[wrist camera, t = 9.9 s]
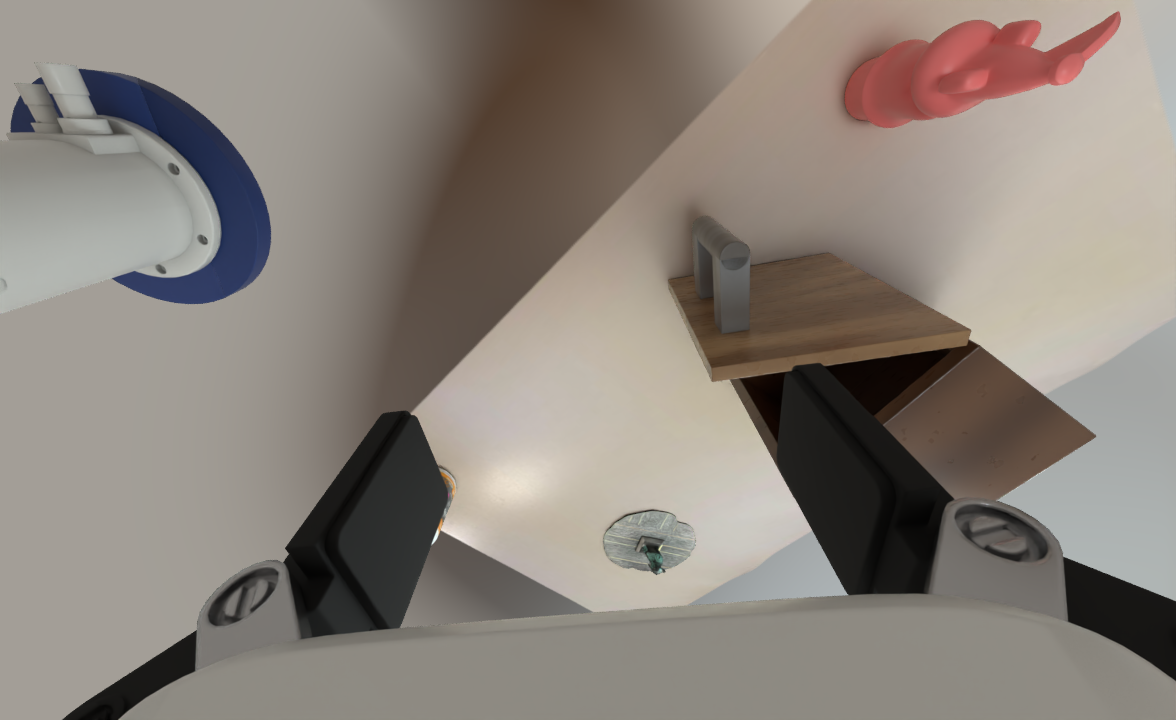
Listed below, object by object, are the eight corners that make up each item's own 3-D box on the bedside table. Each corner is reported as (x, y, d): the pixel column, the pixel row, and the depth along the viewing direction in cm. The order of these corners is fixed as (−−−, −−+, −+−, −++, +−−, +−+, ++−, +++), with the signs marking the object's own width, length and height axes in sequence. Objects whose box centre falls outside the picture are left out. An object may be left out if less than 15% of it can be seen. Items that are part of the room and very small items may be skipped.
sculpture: (701, 560, 58) (671, 612, 54) (646, 531, 64) (615, 575, 60) (688, 506, 52) (653, 559, 47) (628, 479, 58) (592, 524, 53)
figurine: (890, 24, 29) (1136, -58, 16) (923, 87, 31) (1168, 59, 18) (823, 87, 31) (994, 60, 18) (857, 143, 33) (1036, 155, 19)
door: (662, 212, 35) (707, 268, 21) (836, 180, 34) (1004, 219, 20) (668, 290, 38) (712, 382, 25) (828, 263, 37) (967, 345, 23)
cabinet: (727, 376, 43) (793, 498, 29) (833, 262, 37) (980, 345, 23) (811, 426, 46) (907, 558, 32) (922, 328, 40) (1098, 436, 26)
